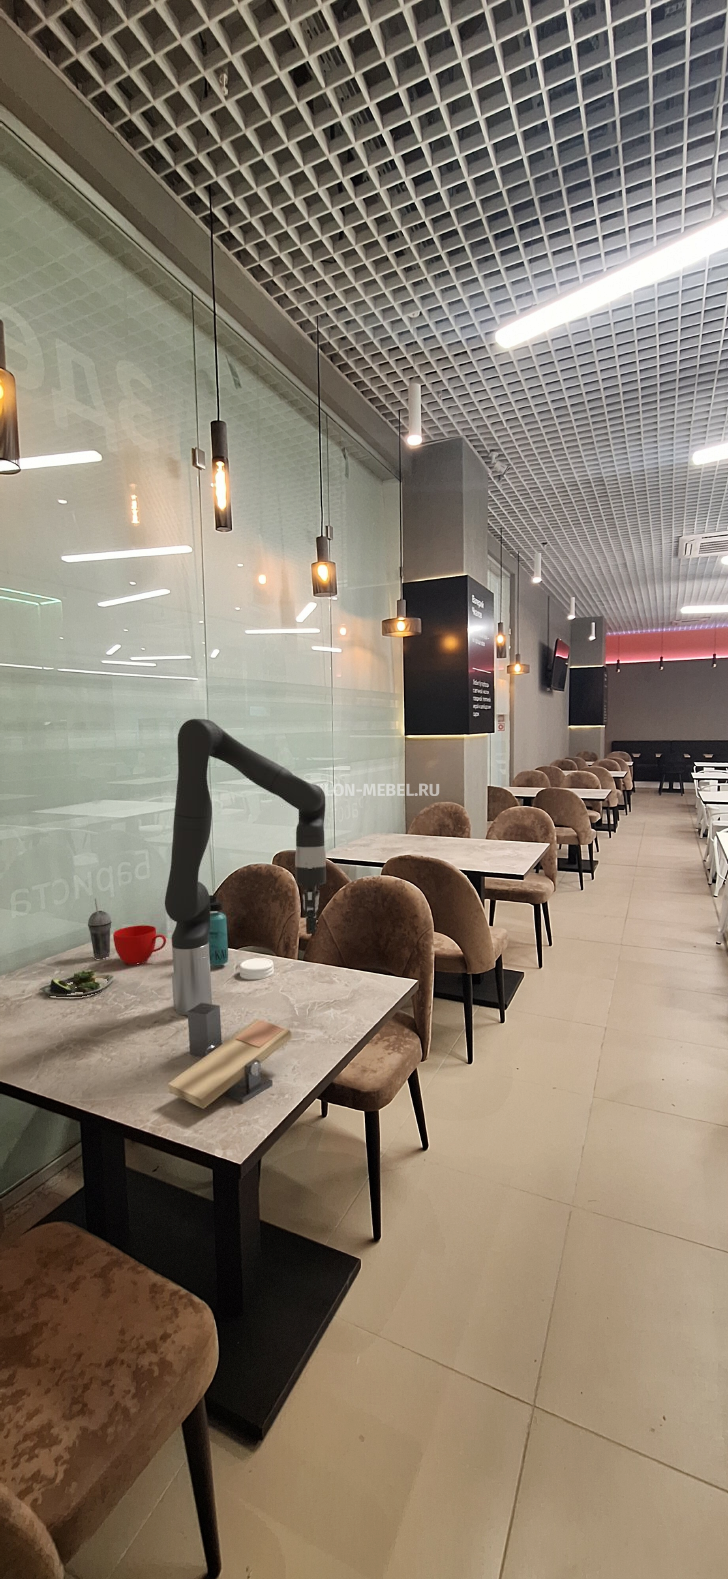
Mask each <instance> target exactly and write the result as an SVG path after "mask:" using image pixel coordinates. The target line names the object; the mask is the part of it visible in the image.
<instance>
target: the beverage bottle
mask: <svg viewBox="0 0 728 1579" xmlns="http://www.w3.org/2000/svg"><path fill="white" fill-rule="evenodd" d="M210 911H217V912H216V913H211V914H210V922H211V925H210V932H209V956H210V966H220V965H225V964H226V963H228V961H229V944H228V930H227V929H228V928H227V927H228V925H227V916H226V914H224V913H223V912H221V911H223V904H222V902H221V901H220V902H219V901H216V902H214V903H210ZM219 911H220V912H219Z"/></svg>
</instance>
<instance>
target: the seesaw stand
mask: <svg viewBox="0 0 728 1579" xmlns="http://www.w3.org/2000/svg"><path fill="white" fill-rule="evenodd" d="M219 1046H221V1045H218V1044H217V1045H215V1046H213V1045H210V1046H209V1047H208V1048H207V1050H206V1056H207V1055H208V1054H209V1053H211V1052H212V1051H214V1050H215V1049H216V1048H218V1047H219ZM261 1069H262V1066H261V1063H260V1060H257V1059H255V1060H254V1061H252V1062H250V1063H248V1064H246V1065H245V1076H244V1077H243V1078H241V1079H240V1080H239V1081H238V1082H236V1083H235V1084H234V1085H233V1086H231V1087H230V1088H229V1089H228V1090H226V1091H225V1092H224V1093H223V1094H222V1095H223V1096H225V1097H228V1098H230V1099H232V1100H235V1101H237V1102H239V1103H241V1104H244V1103H245V1102H247V1101H249V1100H250V1099H251V1100H252V1098H254V1097H255V1096H258V1095H259V1094H260V1093H262V1092H264V1091H266V1090H267V1089H269V1088H271V1087H272V1086H273V1079H270V1078H267V1077H266V1076H265V1077H264V1076H263V1075H261Z"/></svg>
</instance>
